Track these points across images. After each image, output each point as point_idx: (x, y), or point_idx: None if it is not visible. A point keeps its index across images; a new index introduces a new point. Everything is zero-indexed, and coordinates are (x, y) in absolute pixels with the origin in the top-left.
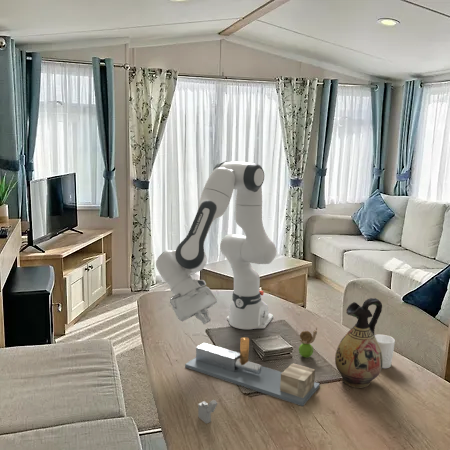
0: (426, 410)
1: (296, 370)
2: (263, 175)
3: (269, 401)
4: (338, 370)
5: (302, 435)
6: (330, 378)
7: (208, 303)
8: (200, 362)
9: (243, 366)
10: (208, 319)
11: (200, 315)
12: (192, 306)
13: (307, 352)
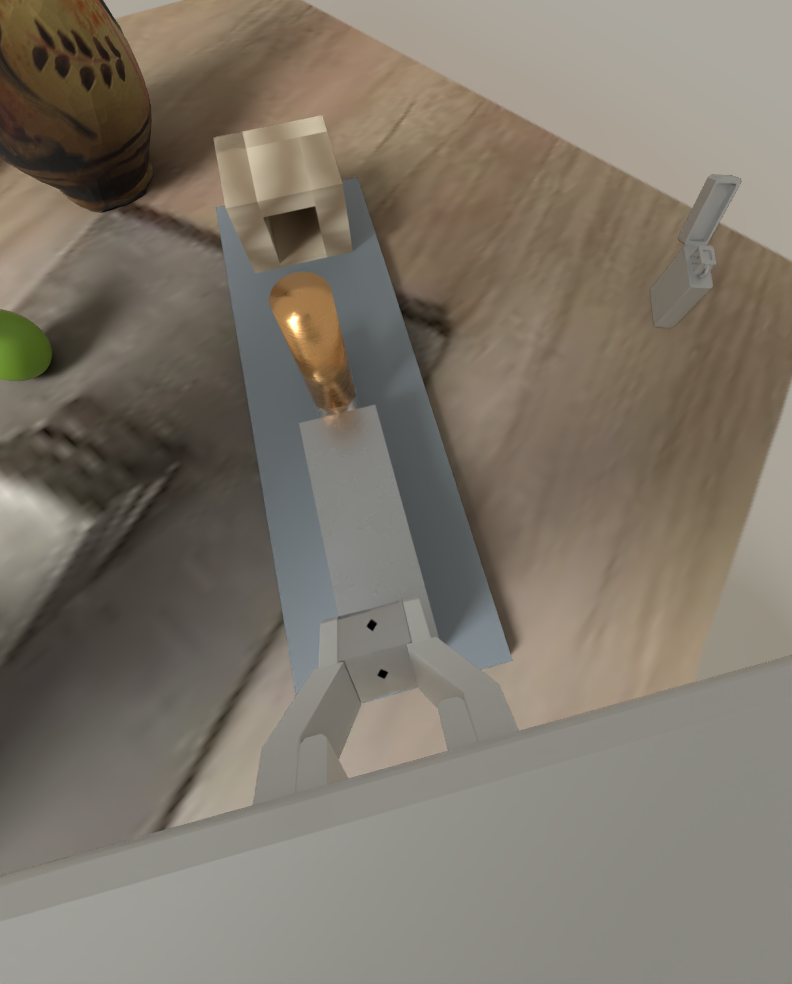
0: (148, 35)
1: (271, 167)
2: None
3: (416, 256)
4: (131, 144)
5: (471, 125)
6: (146, 228)
7: (103, 905)
8: (435, 618)
9: (354, 385)
10: (366, 618)
11: (485, 675)
12: (752, 892)
13: (30, 321)
